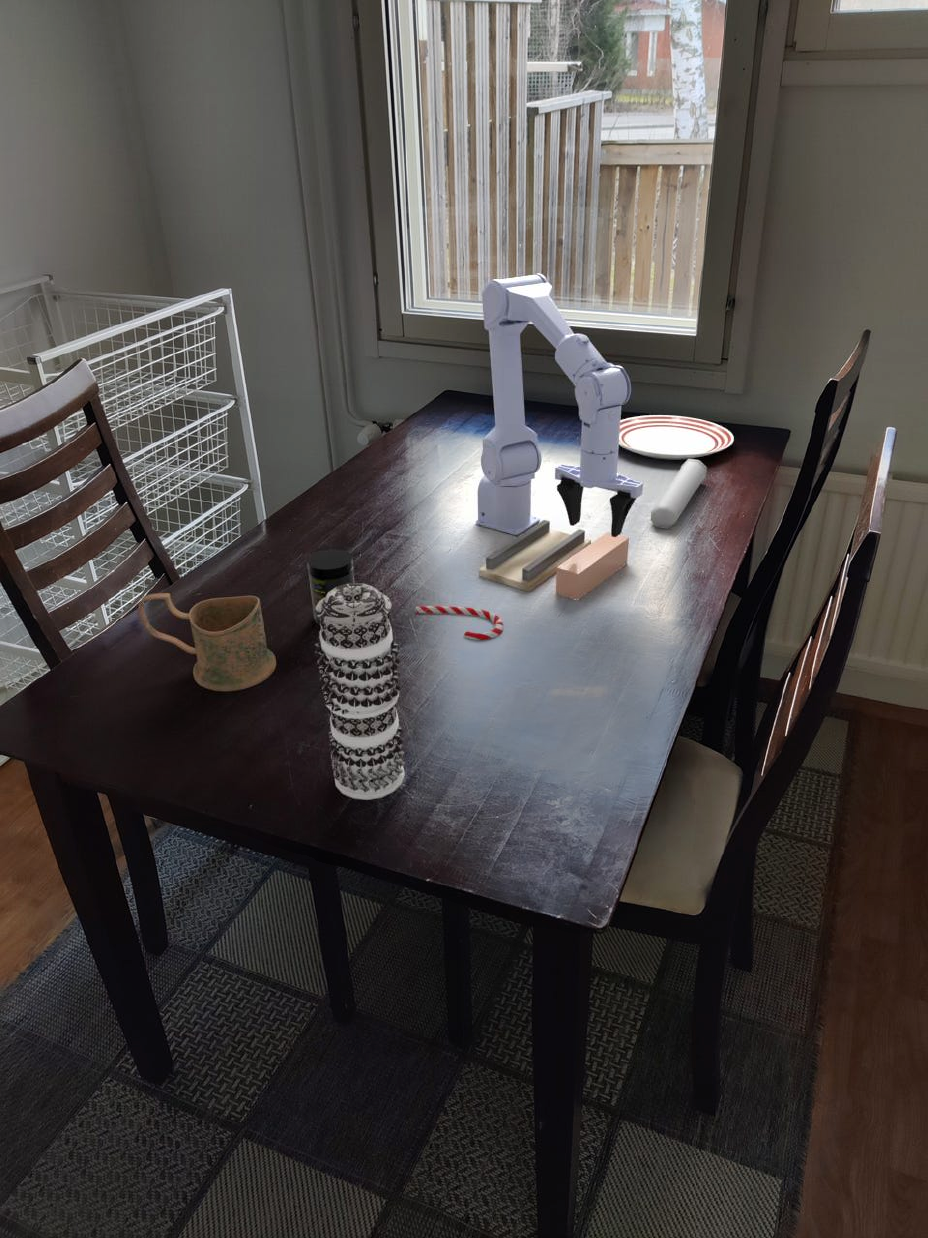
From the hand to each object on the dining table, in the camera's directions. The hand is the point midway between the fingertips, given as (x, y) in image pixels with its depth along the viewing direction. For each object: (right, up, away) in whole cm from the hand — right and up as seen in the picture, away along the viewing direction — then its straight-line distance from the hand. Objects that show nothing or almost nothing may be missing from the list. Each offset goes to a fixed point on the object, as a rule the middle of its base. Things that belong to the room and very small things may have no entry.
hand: (595, 528), depth 148 cm
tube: (+20, +7, +29) cm, 36 cm away
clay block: (0, -8, +5) cm, 9 cm away
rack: (-9, -4, +10) cm, 14 cm away
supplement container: (-41, -15, -5) cm, 44 cm away
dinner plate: (+25, +24, +57) cm, 67 cm away
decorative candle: (-33, -34, -37) cm, 60 cm away
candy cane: (-22, -15, -6) cm, 28 cm away
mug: (-57, -22, -16) cm, 63 cm away
